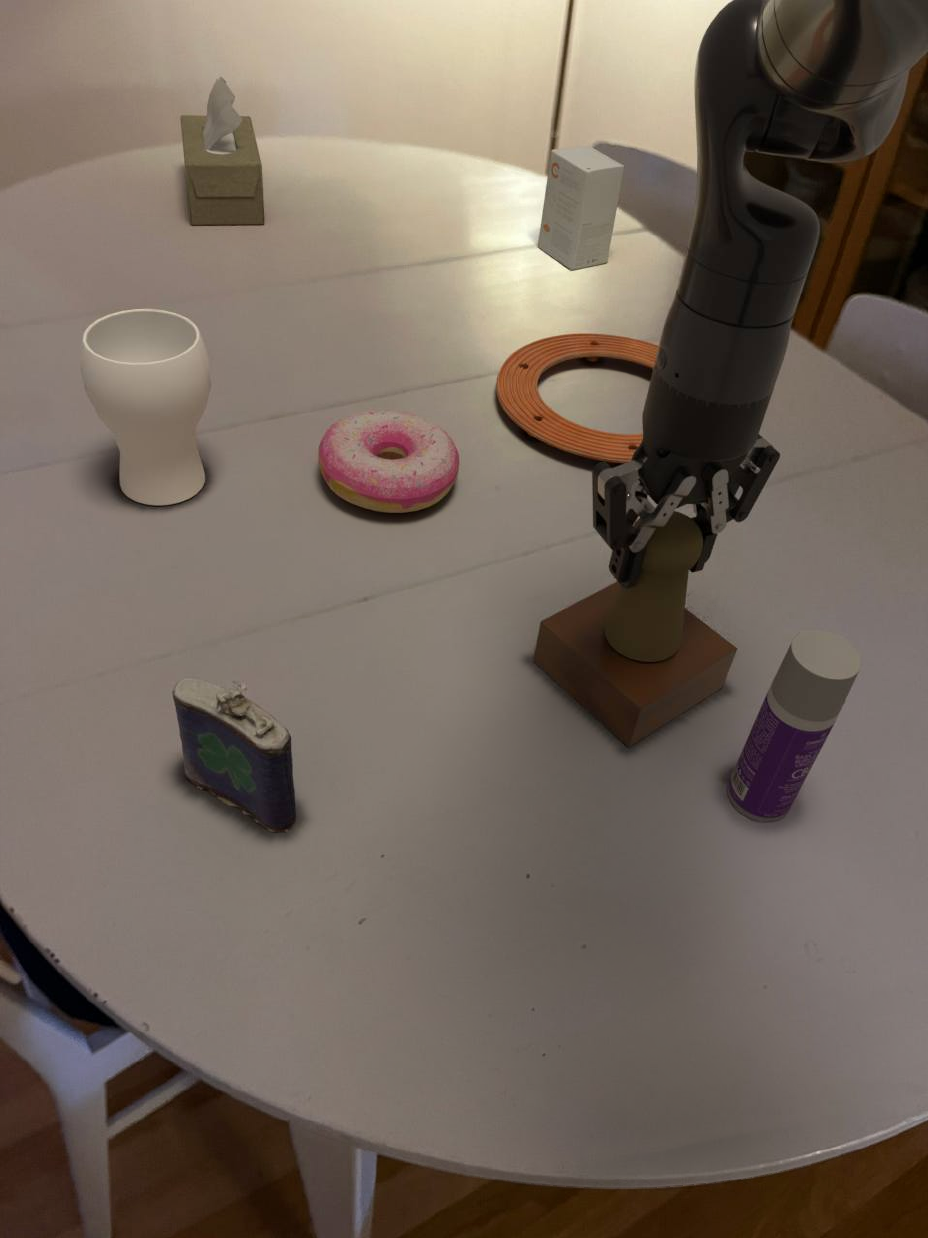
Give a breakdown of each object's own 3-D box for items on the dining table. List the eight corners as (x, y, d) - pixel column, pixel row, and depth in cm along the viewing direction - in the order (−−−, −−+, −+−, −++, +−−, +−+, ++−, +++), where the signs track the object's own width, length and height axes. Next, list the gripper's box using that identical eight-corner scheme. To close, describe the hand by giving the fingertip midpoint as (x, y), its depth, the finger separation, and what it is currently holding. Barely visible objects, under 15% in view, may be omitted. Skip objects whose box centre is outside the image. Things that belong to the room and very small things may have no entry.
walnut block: (722, 687, 83) (737, 648, 80) (628, 748, 77) (640, 708, 74) (626, 609, 88) (637, 570, 85) (532, 660, 83) (540, 621, 80)
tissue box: (264, 226, 138) (259, 101, 127) (190, 226, 136) (178, 99, 125) (253, 172, 151) (247, 55, 140) (185, 172, 149) (174, 52, 138)
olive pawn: (691, 658, 78) (725, 548, 70) (615, 665, 77) (641, 553, 69) (667, 605, 82) (697, 495, 74) (595, 610, 81) (618, 499, 73)
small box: (607, 263, 139) (626, 165, 130) (570, 271, 136) (586, 171, 127) (572, 239, 144) (588, 143, 135) (536, 246, 141) (549, 148, 132)
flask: (177, 776, 72) (160, 672, 64) (206, 750, 74) (192, 645, 66) (281, 840, 69) (275, 738, 61) (308, 811, 71) (306, 709, 63)
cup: (153, 436, 101) (132, 293, 90) (243, 471, 98) (232, 327, 88) (79, 491, 94) (46, 343, 83) (173, 530, 91) (152, 381, 80)
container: (777, 833, 73) (850, 692, 62) (717, 801, 74) (778, 658, 64) (799, 790, 76) (872, 649, 65) (740, 760, 77) (803, 617, 67)
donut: (461, 527, 95) (466, 483, 91) (316, 523, 93) (315, 479, 90) (452, 444, 104) (456, 402, 101) (321, 440, 103) (320, 397, 99)
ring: (526, 483, 101) (529, 462, 99) (472, 353, 118) (474, 333, 116) (761, 470, 106) (768, 451, 104) (676, 347, 123) (681, 329, 122)
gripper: (649, 417, 59) (597, 628, 70) (844, 382, 64) (765, 584, 75) (586, 353, 63) (547, 561, 75) (772, 325, 68) (709, 524, 80)
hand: (657, 572), depth 75 cm, fingers closed on olive pawn, 5 cm apart
